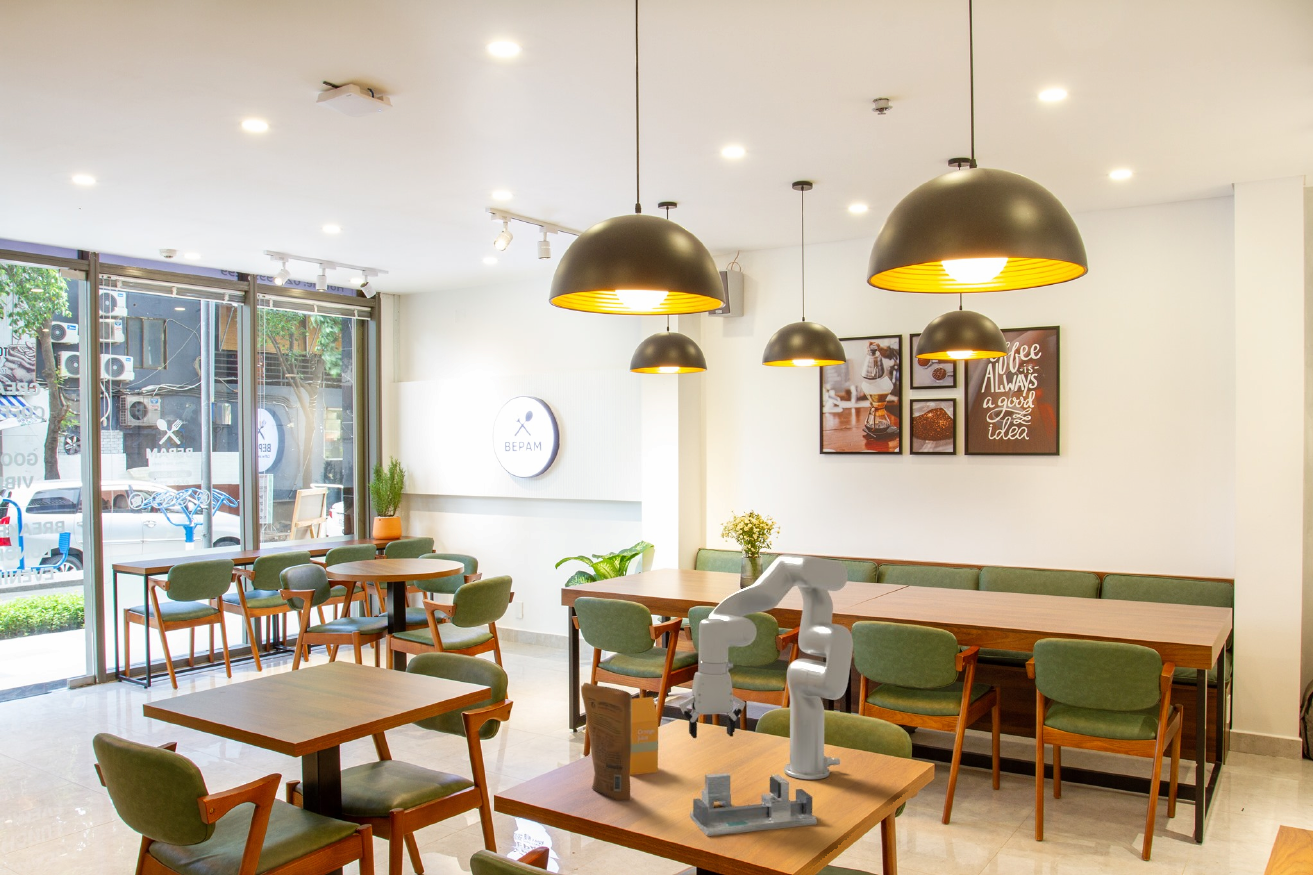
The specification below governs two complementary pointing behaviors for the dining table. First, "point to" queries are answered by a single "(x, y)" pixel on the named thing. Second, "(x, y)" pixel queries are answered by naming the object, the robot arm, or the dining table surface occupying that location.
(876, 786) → the dining table surface
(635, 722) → the orange juice
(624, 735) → the pancake mix bag
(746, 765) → the dining table surface
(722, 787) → the notched grey block
